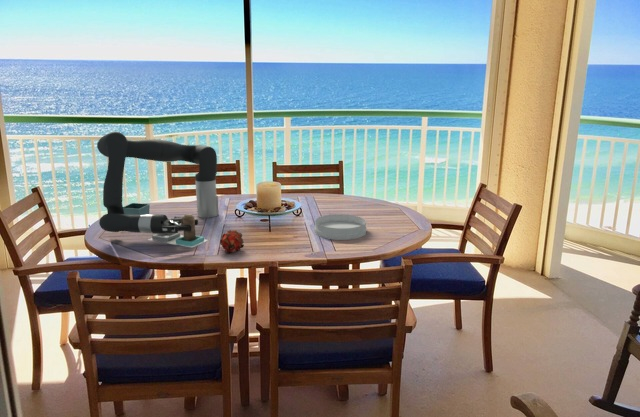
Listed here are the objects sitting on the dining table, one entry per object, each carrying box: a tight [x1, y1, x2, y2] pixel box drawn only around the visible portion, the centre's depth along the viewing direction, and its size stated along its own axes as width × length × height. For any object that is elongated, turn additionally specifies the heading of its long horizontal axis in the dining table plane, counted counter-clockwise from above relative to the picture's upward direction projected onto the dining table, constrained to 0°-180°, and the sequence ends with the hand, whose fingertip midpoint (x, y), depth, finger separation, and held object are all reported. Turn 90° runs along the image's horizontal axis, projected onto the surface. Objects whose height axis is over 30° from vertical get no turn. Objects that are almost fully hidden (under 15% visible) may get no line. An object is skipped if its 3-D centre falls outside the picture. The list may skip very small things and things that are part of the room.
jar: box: [182, 213, 197, 242], centre depth 190 cm, size 4×4×11 cm
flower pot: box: [123, 202, 151, 215], centre depth 216 cm, size 9×9×9 cm
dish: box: [314, 213, 367, 241], centre depth 209 cm, size 22×22×5 cm
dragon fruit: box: [219, 229, 245, 255], centre depth 184 cm, size 8×8×12 cm
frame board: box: [147, 232, 209, 248], centre depth 194 cm, size 22×10×3 cm, turn 65°
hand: (194, 225), depth 189 cm, fingers open, 7 cm apart
